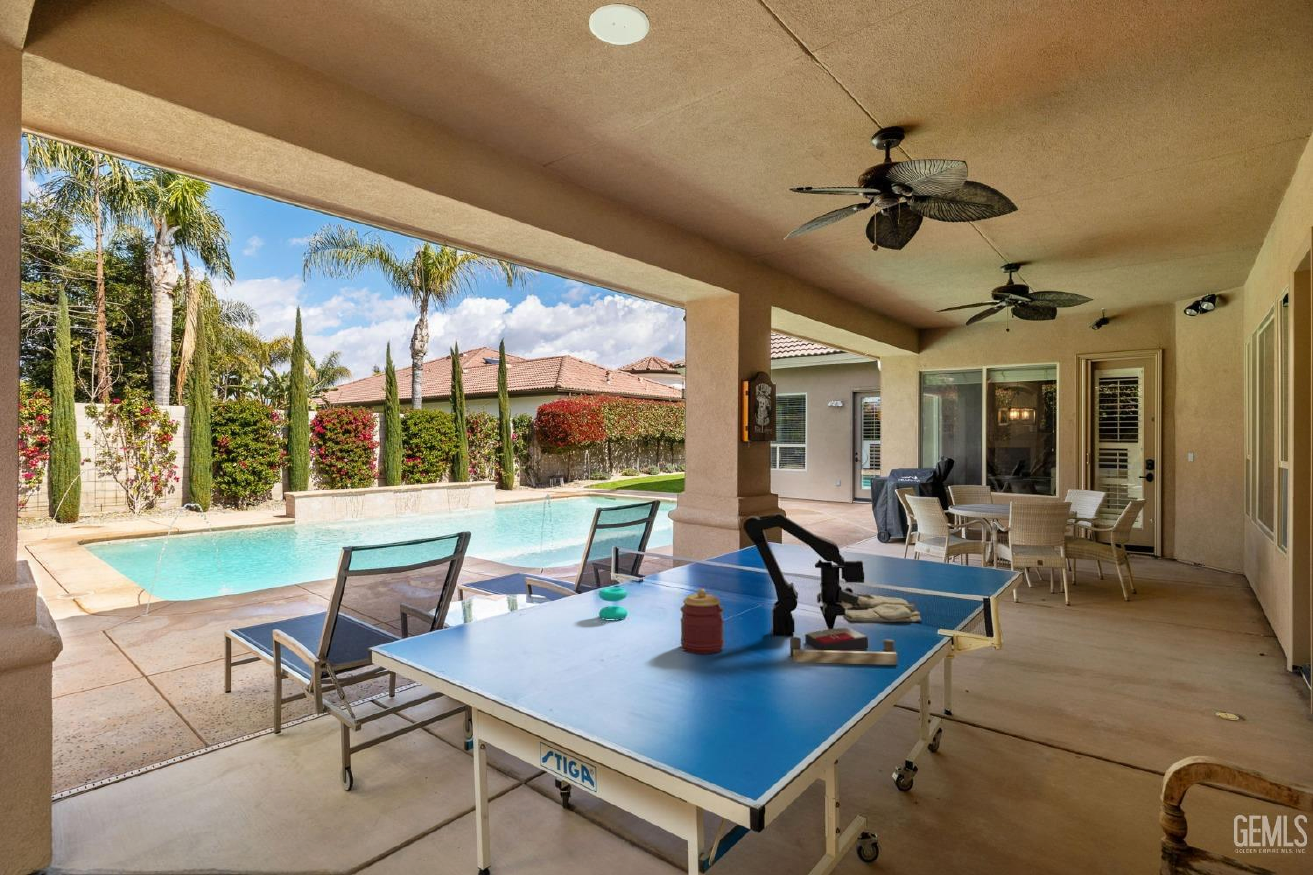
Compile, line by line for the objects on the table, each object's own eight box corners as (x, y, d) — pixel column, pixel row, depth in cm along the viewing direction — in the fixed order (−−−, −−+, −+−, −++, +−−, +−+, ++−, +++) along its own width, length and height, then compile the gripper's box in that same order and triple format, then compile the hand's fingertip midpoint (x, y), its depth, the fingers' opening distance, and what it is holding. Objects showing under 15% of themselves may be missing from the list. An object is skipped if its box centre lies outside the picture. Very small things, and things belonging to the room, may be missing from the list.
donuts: (631, 590, 230) (604, 593, 226) (631, 619, 230) (604, 622, 226) (620, 585, 239) (594, 588, 235) (621, 612, 239) (595, 616, 235)
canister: (732, 647, 197) (732, 588, 198) (705, 657, 188) (705, 596, 188) (699, 638, 206) (698, 582, 206) (671, 648, 197) (671, 589, 197)
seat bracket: (791, 661, 184) (791, 644, 184) (789, 654, 190) (789, 636, 190) (899, 664, 180) (898, 646, 180) (893, 656, 187) (892, 639, 187)
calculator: (804, 631, 201) (847, 624, 206) (805, 645, 201) (848, 638, 206) (823, 642, 191) (868, 634, 195) (824, 656, 191) (868, 649, 195)
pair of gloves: (835, 602, 253) (835, 588, 253) (904, 604, 249) (904, 590, 249) (847, 624, 223) (847, 608, 223) (926, 626, 219) (926, 610, 219)
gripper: (862, 588, 198) (862, 640, 198) (850, 576, 216) (851, 623, 216) (824, 588, 199) (825, 639, 199) (816, 575, 218) (817, 622, 217)
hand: (830, 631), depth 208 cm, fingers closed
